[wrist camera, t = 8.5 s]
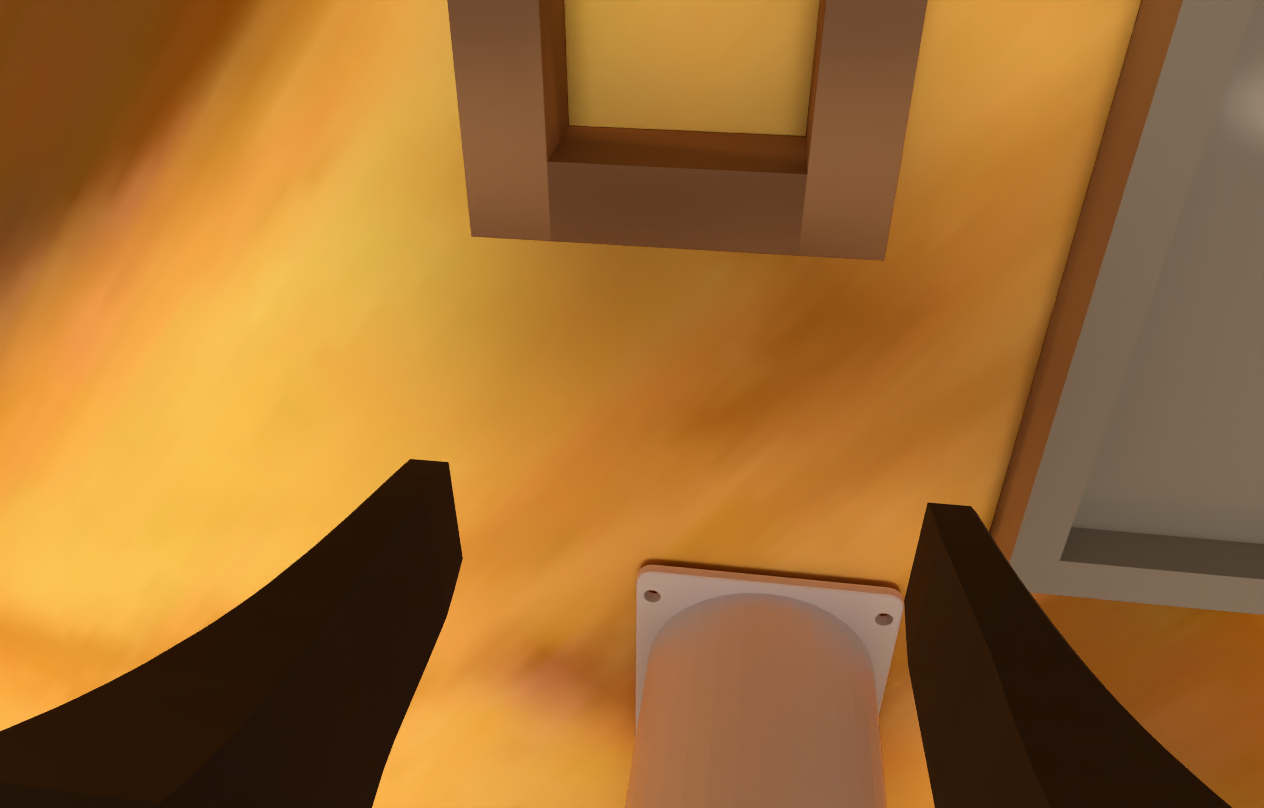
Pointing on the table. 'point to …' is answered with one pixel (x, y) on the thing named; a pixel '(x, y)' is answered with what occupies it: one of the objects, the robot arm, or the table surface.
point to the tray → (1157, 339)
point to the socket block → (684, 144)
